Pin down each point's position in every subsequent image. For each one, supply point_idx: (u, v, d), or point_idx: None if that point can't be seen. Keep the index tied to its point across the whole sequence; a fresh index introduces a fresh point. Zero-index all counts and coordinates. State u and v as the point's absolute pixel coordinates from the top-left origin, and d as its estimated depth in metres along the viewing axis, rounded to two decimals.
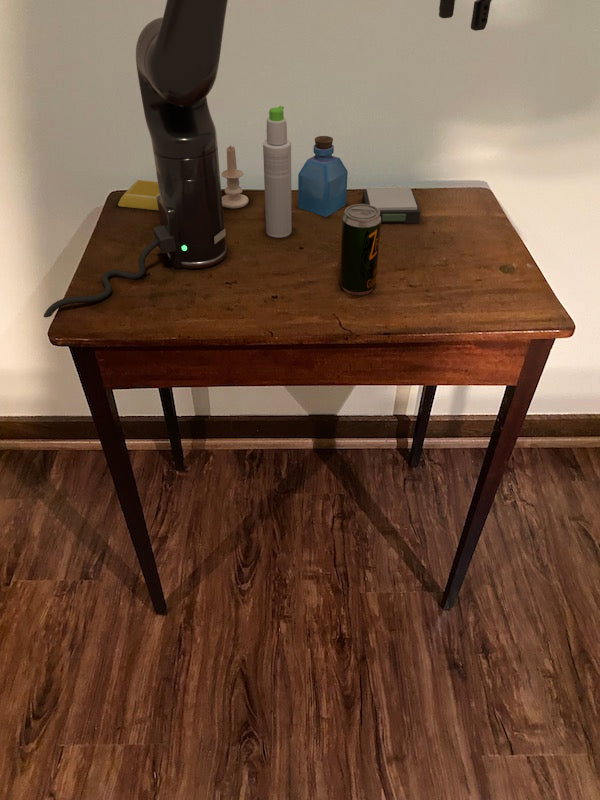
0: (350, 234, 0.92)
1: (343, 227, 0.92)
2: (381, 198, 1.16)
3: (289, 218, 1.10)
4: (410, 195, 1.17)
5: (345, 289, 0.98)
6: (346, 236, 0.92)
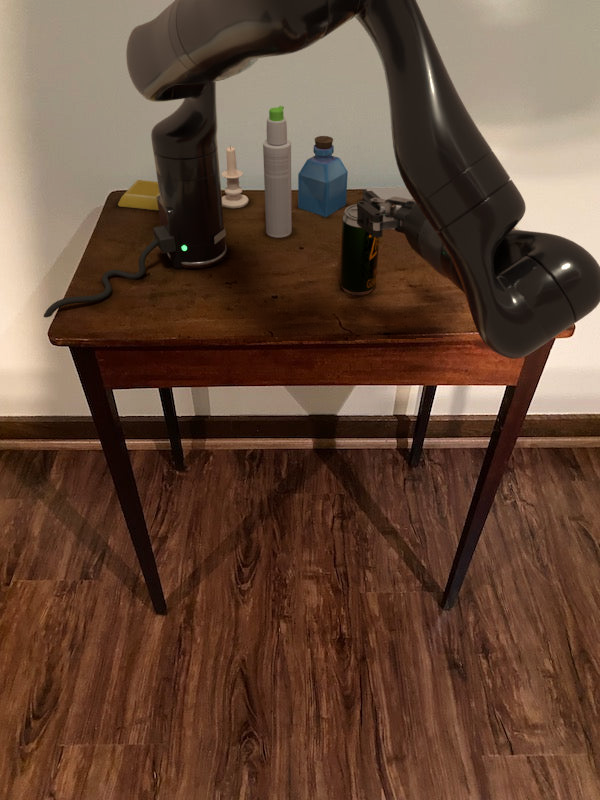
0: (350, 234, 0.92)
1: (343, 227, 0.92)
2: (381, 198, 1.16)
3: (289, 218, 1.10)
4: (410, 195, 1.17)
5: (345, 289, 0.98)
6: (346, 236, 0.92)
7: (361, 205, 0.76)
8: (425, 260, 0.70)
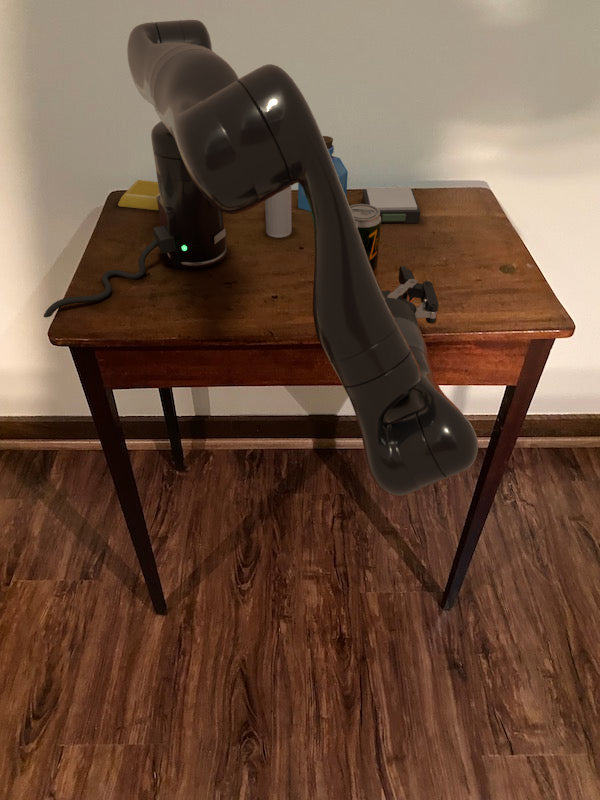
0: None
1: None
2: (381, 198, 1.16)
3: (289, 218, 1.10)
4: (410, 195, 1.17)
5: None
6: None
7: None
8: None
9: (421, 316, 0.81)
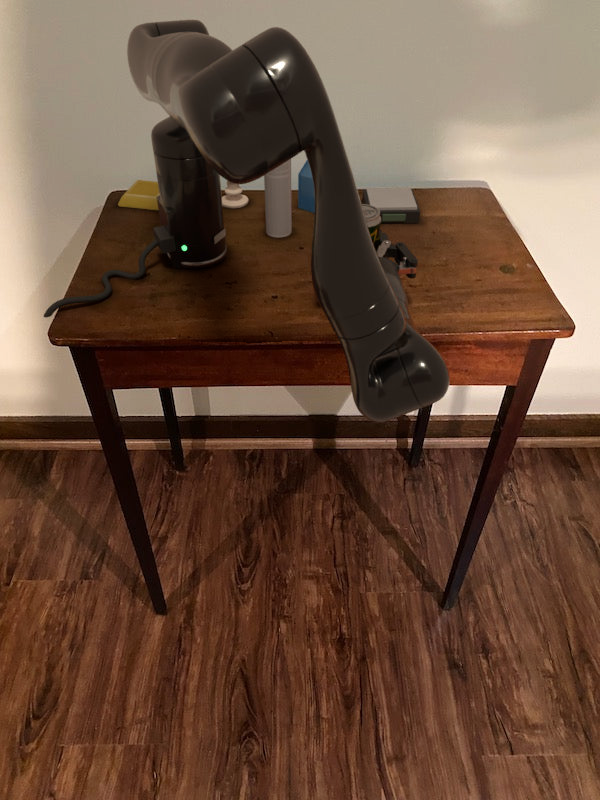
0: None
1: None
2: (381, 198, 1.16)
3: (289, 218, 1.10)
4: (410, 195, 1.17)
5: None
6: None
7: None
8: None
9: (404, 273, 0.89)
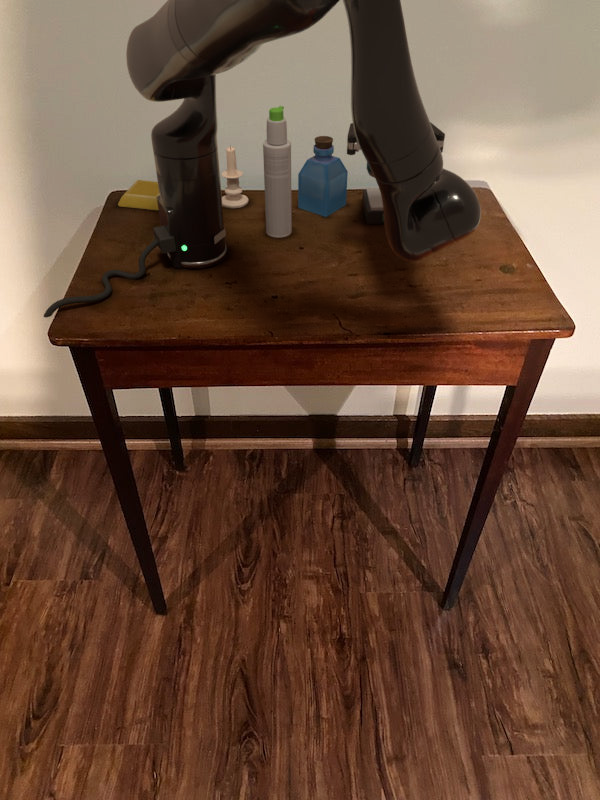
0: None
1: None
2: (381, 198, 1.16)
3: (289, 218, 1.10)
4: None
5: (372, 173, 1.00)
6: None
7: (350, 126, 0.94)
8: None
9: None
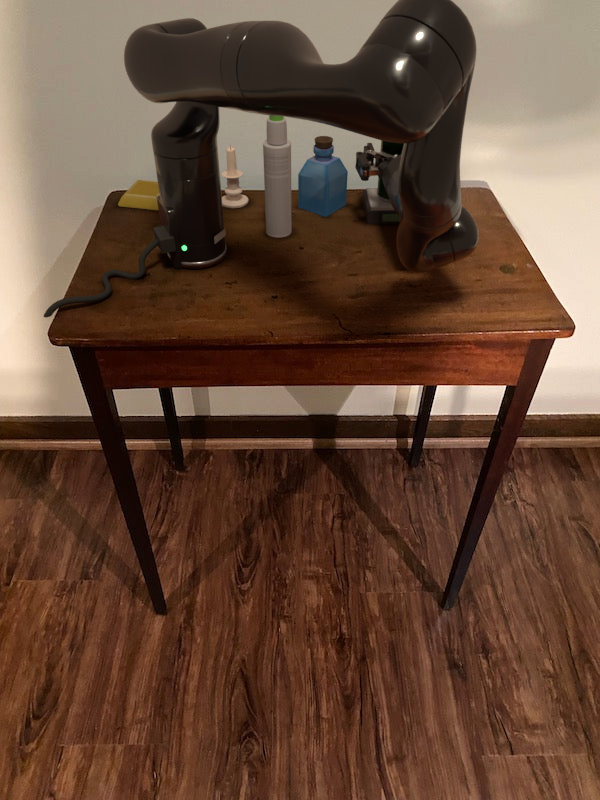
0: (388, 146, 1.09)
1: (382, 141, 1.09)
2: None
3: (289, 218, 1.10)
4: None
5: (382, 198, 1.15)
6: (385, 148, 1.09)
7: (358, 155, 1.07)
8: None
9: None
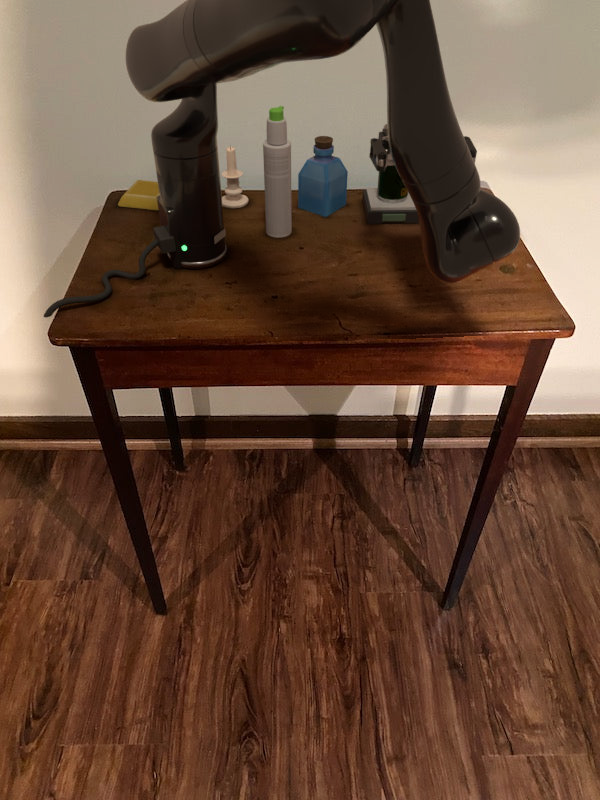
0: None
1: None
2: None
3: (289, 218, 1.10)
4: None
5: (382, 198, 1.15)
6: None
7: (373, 142, 0.93)
8: None
9: None
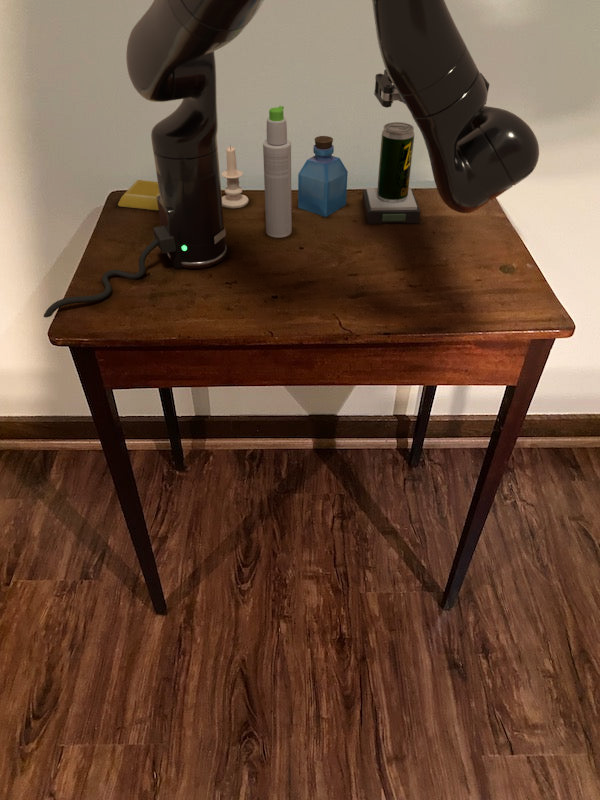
0: (388, 146, 1.09)
1: (382, 141, 1.09)
2: None
3: (289, 218, 1.10)
4: (410, 195, 1.17)
5: (382, 198, 1.15)
6: (385, 148, 1.09)
7: (378, 77, 0.87)
8: None
9: None
